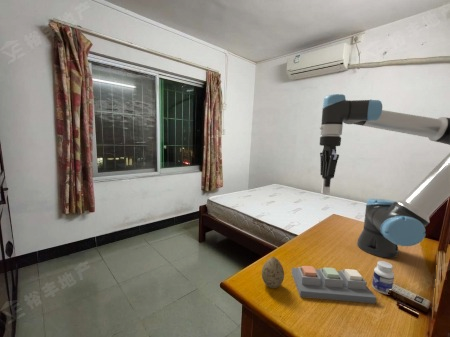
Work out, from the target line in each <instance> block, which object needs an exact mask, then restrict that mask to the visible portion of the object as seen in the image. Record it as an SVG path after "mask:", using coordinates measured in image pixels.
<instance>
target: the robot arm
mask: <svg viewBox="0 0 450 337" xmlns="http://www.w3.org/2000/svg"><path fill="white" fill-rule="evenodd" d="M321 110H322V111H321V113H322V114H321V126H320V127H319V130H320V135H321V136H320V137H319V146H323V148H322V152H320V153H319V156H320V176H321V177H322V181H321V191H320V193H321V194H322V195H330V190H331V182H332V181H331V180H332V179H334V178H335V173H336V170H337V165H338V160H339V158H340V154H337V147H340V146H341V143H342V137H341V136H342V134H343V127H344V126H343V125H344V124H345V125H356V126H362V127H369V128H375V129H378V130H379V129H380V130H385V131H389V132H395V133H401V134H407V135H413V136H418V137H423V138H428V140H429V141H431V142H436V143H439V144H440V143H441V144H444V145H448V146H450V117H446V116H445V117H444V116H441V117H439V118H434V117H427V116H421V115H415V114H409V113H402V112H396V111H391V110H383V103H382V101H381V100H380V99H362V100H361V99H359V100H348V99H346V95H344V94H341V93H340V94H339V93H335V94H329V95H326V96H325V97H324V98H323V104H322V109H321ZM449 197H450V152H449V153H448V154H447V155H446V156H445V157H443V159H442V160H441V161H440V162H439V163H438V164H437V165H436V166H435V167H434V168H433V169H432V171H430V172H429V173H428V174H427V175H426V176H425V177H424V178H423V179H422V180H421V181H420V182H419V183H418V184H417V185H416V187H415V188H413V190H412V191H410V192H409V194H408V195H407V196H406V197H405V198H404V199H402V200H390V199H382V198H368V199H367V200H366V204H365V213H364V223H363V229H362V231H361V232H360V235H359V236H358V238H357V241H356V245H357V247H358V248H359V249H361V250H362V251H364V252H366V253H368V254H370V255H373V256H376V257H381V258H385V259H387V258H388V259H391V258H392V259H394V258H397V257H398V256H399V247H400V246H401V247H412V246H416V245H417V244H420V243H421V242H422V241H423V240H424V239H425V237H426V227H427V226H428V225H429V224H430V215H431V214H432V213H433V212H434V211H435V210H437V208H438V207H439V206H441V205H442V204H443V203H444V202H445V201H446V200H447V199H448V198H449Z"/></svg>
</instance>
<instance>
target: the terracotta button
mask: <svg viewBox="0 0 450 337" xmlns="http://www.w3.org/2000/svg"><path fill="white" fill-rule="evenodd" d="M301 267H302V273H303V275H304V276H309V277H316V271H315V270H314V268H315V267H314V266H312V265H302V266H301Z"/></svg>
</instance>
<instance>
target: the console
mask: <svg viewBox="0 0 450 337" xmlns="http://www.w3.org/2000/svg"><path fill="white" fill-rule="evenodd" d="M313 268H314V270H315V271H316V277H309V276H304V275H303V273H302V266H297V267H291V272H290V273H291V276H292V278H293V281H294V284H295V287H296V290H297V292H298V295H299V297H300V298H310V299H319V300H320V299H321V300H331V301H344V302H352V303H353V302H354V303H365V304H376V303H377V297H376V296H375V294H374V293H373V292H372V290H371V289H370V288H369V287H368V286H367V284H368V282H367V281H366V280H365V279H364V277H363V276H362V281H359V280H349V279H348V277H347V276H346V275H345V274H344V272H345V269H343V270H342V269H340V270H336V271H337V273H338V274H339V279H334V278H326V277H325V275H324V273H323V268H318V269H316V268H315V267H313Z"/></svg>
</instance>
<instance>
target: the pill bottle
mask: <svg viewBox="0 0 450 337" xmlns="http://www.w3.org/2000/svg"><path fill="white" fill-rule="evenodd" d="M393 269H394V267H393V265H392V264H391V263H390V262H387V261H384V260H378V261H377V264H376V266H375V267H374V269H373V273H372V274H373V275H372V276H373V277H372V283H371V287H372V288H373V289H374V290H375V291H376V292H378V293H380V294H383V295H389V294H388V292H389V289H392V290H393V285H394V279H395V274H394V272H393Z"/></svg>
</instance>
